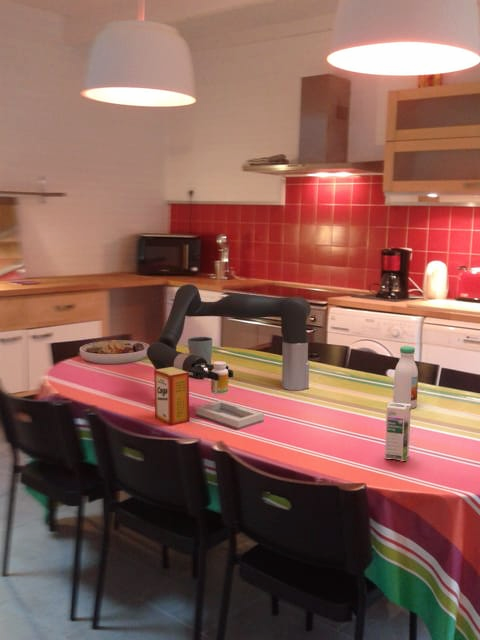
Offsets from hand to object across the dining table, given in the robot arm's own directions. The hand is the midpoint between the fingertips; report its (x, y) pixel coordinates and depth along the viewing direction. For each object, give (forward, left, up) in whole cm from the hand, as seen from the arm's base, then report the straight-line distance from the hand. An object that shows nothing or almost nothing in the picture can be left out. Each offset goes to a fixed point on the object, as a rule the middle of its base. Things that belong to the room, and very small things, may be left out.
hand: (225, 375), depth 210 cm
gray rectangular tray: (-1, +1, -13) cm, 14 cm away
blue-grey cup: (+1, -67, -14) cm, 68 cm away
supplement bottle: (+2, -2, -6) cm, 7 cm away
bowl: (+36, -91, -14) cm, 99 cm away
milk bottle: (-61, -3, -14) cm, 63 cm away
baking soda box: (+17, 0, -14) cm, 22 cm away
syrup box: (-40, +41, -14) cm, 59 cm away
